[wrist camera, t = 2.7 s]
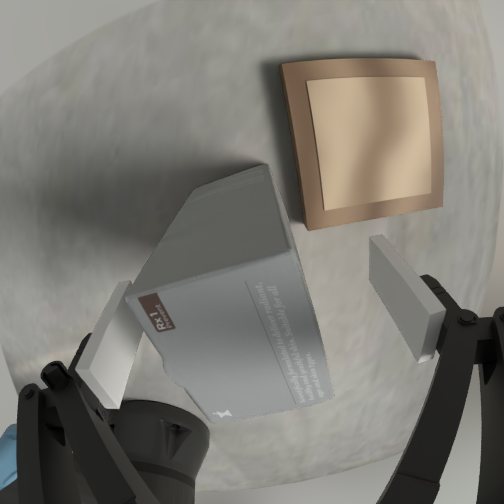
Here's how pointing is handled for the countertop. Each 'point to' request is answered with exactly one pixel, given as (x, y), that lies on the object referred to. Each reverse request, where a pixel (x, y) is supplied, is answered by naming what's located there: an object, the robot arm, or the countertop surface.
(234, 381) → the skincare box
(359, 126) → the tan flat square board
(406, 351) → the countertop surface
